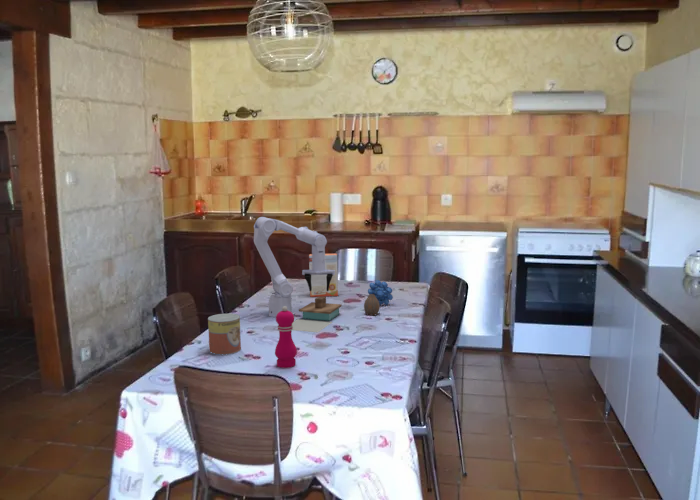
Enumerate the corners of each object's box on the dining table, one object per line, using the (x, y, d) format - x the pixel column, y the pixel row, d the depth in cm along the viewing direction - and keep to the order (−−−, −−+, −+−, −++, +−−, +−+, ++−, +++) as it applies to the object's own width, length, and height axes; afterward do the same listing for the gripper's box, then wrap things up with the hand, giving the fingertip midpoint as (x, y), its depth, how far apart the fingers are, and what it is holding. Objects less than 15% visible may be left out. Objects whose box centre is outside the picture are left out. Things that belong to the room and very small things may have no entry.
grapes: (367, 307, 280) (367, 281, 278) (368, 303, 287) (367, 278, 285) (392, 307, 279) (392, 281, 278) (392, 304, 286) (392, 278, 284)
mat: (280, 330, 244) (280, 328, 244) (297, 320, 259) (297, 319, 259) (317, 333, 239) (317, 332, 239) (332, 323, 254) (332, 322, 254)
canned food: (225, 356, 212) (224, 323, 210) (202, 351, 218) (200, 318, 216) (247, 348, 222) (246, 315, 220) (224, 343, 228) (223, 312, 226)
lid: (298, 311, 258) (298, 300, 257) (312, 303, 271) (311, 293, 270) (329, 313, 253) (329, 302, 252) (341, 306, 266) (341, 295, 265)
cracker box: (337, 293, 309) (337, 252, 306) (338, 296, 303) (337, 254, 300) (309, 294, 308) (308, 253, 305) (309, 297, 302) (308, 255, 299)
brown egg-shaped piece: (378, 316, 264) (378, 296, 263) (362, 315, 265) (362, 296, 264) (380, 312, 271) (380, 293, 269) (365, 312, 272) (365, 292, 271)
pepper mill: (275, 361, 206) (274, 303, 203) (297, 360, 207) (295, 303, 204) (274, 369, 199) (273, 309, 196) (297, 368, 200) (295, 308, 197)
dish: (302, 319, 259) (302, 310, 259) (313, 313, 271) (313, 304, 270) (329, 322, 255) (329, 312, 255) (339, 315, 267) (339, 306, 266)
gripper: (300, 262, 267) (301, 292, 269) (333, 262, 266) (334, 292, 268) (303, 259, 274) (304, 289, 276) (335, 259, 273) (335, 289, 275)
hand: (319, 290), depth 273 cm, fingers open, 7 cm apart
